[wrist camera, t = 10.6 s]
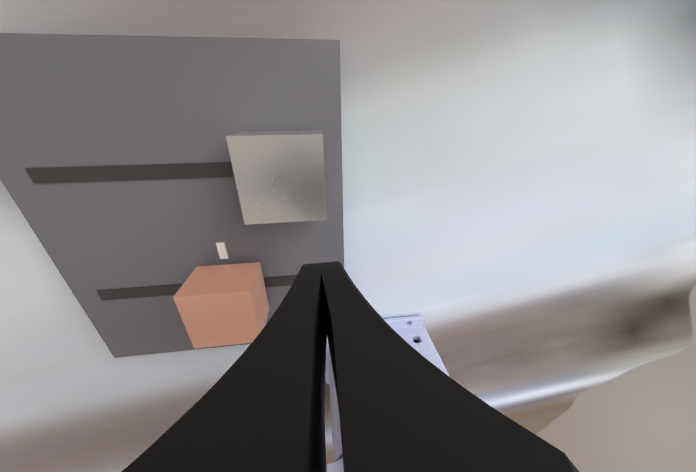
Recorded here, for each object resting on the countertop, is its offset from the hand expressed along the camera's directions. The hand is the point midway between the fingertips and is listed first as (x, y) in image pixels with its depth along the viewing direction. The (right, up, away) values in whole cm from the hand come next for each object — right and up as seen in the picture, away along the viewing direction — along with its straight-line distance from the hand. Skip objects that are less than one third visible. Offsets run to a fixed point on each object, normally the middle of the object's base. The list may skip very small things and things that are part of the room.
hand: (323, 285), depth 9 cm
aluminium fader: (-3, +6, +5) cm, 8 cm away
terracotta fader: (-7, -2, +8) cm, 11 cm away
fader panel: (-9, +2, +8) cm, 12 cm away
